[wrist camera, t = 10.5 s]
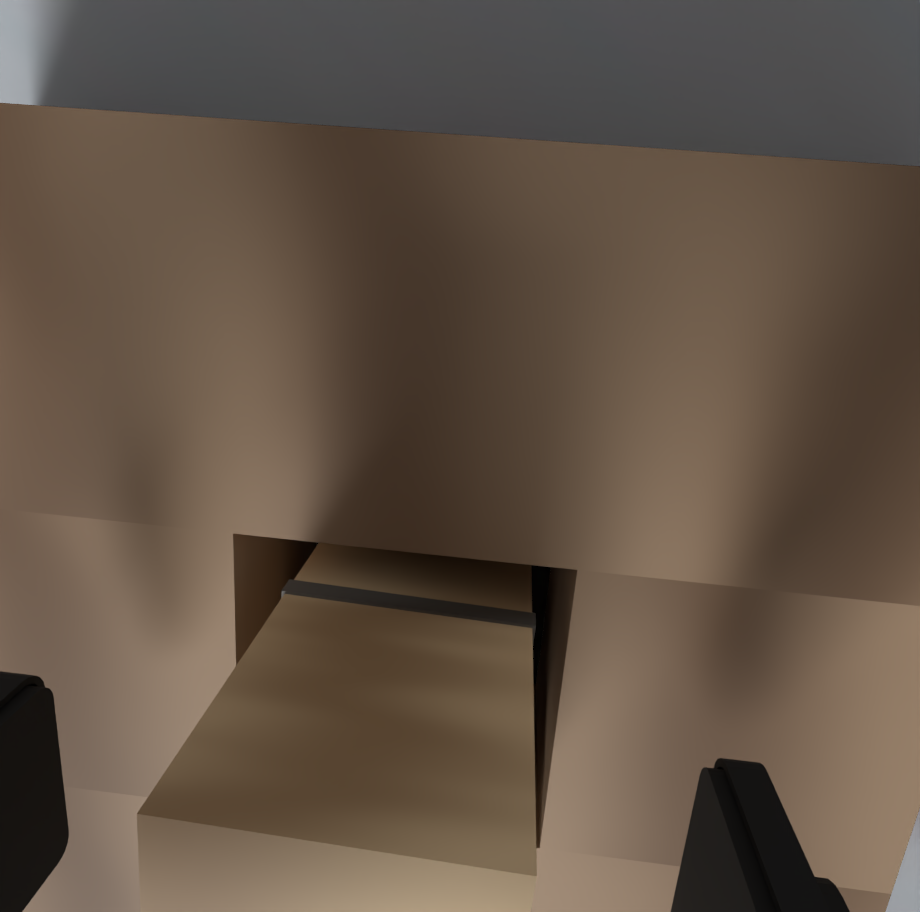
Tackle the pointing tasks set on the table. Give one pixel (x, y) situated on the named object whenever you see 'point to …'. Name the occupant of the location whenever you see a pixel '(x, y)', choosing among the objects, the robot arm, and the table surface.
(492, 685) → the peg
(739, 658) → the board
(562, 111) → the table surface
